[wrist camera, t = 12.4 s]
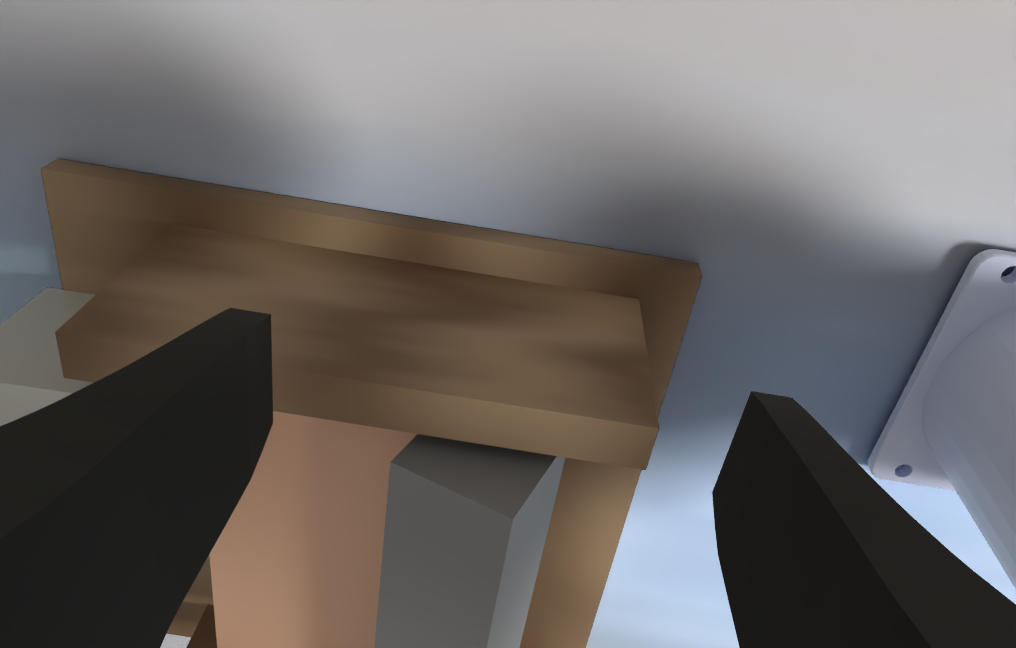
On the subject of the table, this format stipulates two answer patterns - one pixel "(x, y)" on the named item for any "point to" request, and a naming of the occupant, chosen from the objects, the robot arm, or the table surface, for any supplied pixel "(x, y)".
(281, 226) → the frame
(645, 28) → the table surface
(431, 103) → the table surface
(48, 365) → the pale sage cube
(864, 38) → the table surface
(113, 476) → the robot arm
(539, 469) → the trapdoor
